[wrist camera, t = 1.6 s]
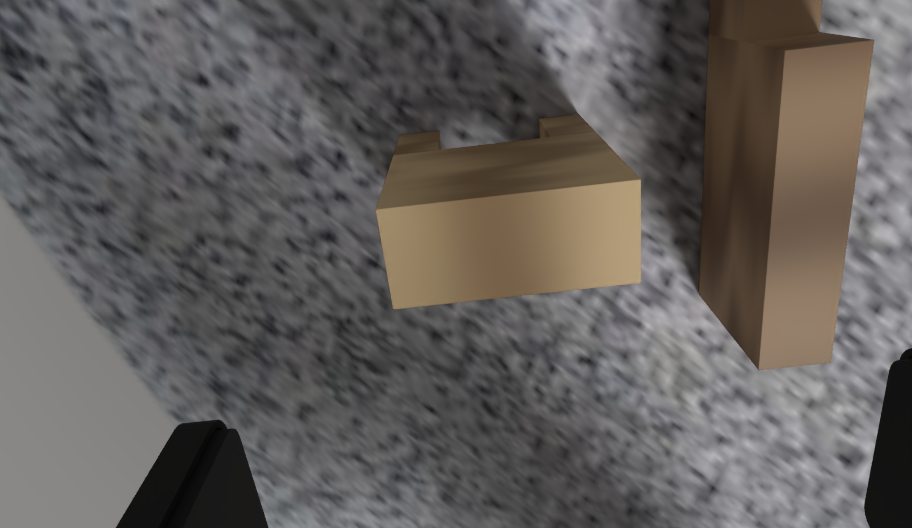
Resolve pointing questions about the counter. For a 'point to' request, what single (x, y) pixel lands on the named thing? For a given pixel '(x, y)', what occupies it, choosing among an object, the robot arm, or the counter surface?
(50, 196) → the counter surface
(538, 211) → the wooden u-shaped arch
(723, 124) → the notched wooden beam
